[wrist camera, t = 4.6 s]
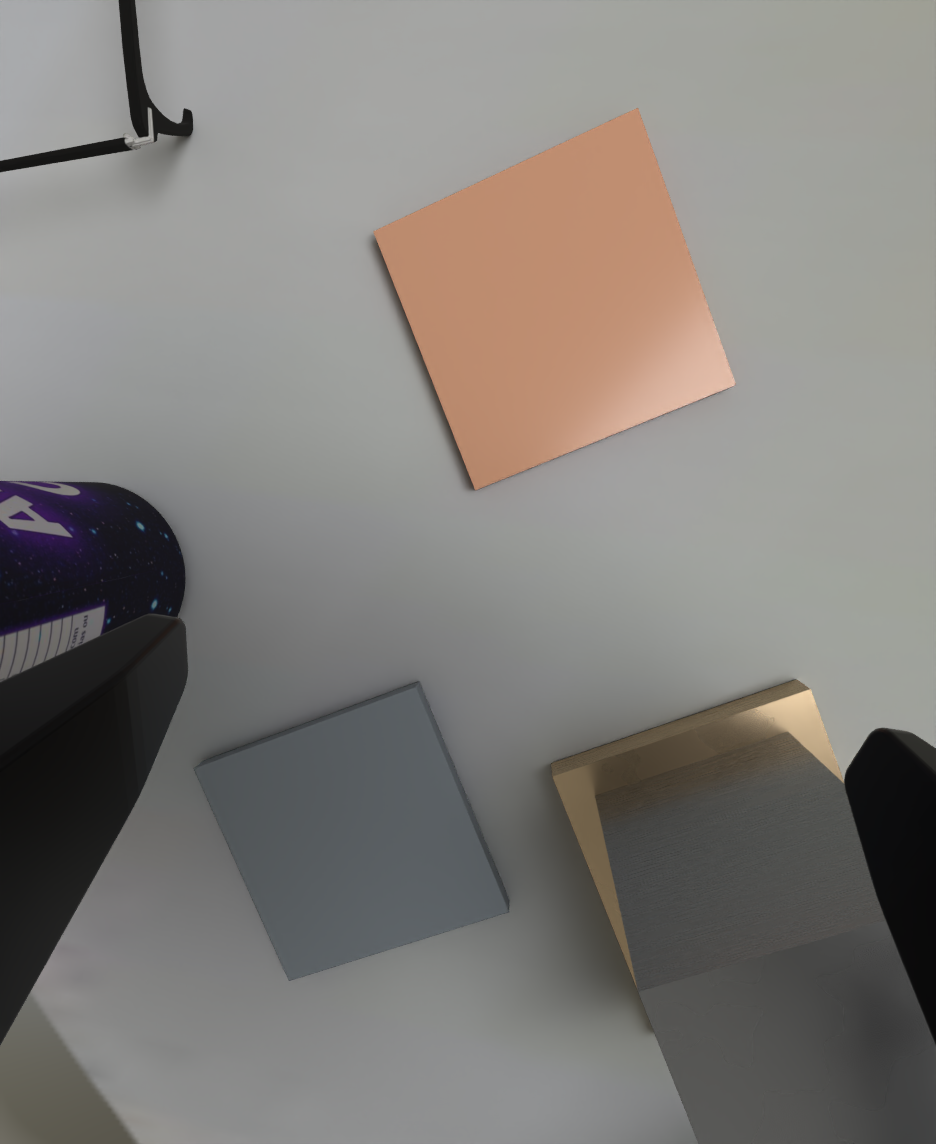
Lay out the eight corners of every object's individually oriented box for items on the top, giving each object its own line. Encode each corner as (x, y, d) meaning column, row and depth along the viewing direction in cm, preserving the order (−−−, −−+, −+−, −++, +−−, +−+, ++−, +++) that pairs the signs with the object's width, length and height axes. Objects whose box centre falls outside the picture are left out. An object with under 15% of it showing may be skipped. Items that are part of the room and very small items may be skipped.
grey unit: (899, 965, 21) (1171, 1312, 12) (658, 1032, 22) (747, 1398, 13) (797, 679, 20) (1007, 828, 11) (551, 763, 21) (568, 960, 12)
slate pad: (509, 900, 22) (509, 912, 21) (295, 968, 23) (289, 981, 22) (419, 681, 21) (416, 687, 21) (202, 761, 22) (193, 768, 22)
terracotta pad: (729, 388, 19) (736, 384, 19) (476, 490, 20) (475, 489, 20) (634, 119, 19) (637, 107, 18) (377, 239, 20) (373, 231, 19)
